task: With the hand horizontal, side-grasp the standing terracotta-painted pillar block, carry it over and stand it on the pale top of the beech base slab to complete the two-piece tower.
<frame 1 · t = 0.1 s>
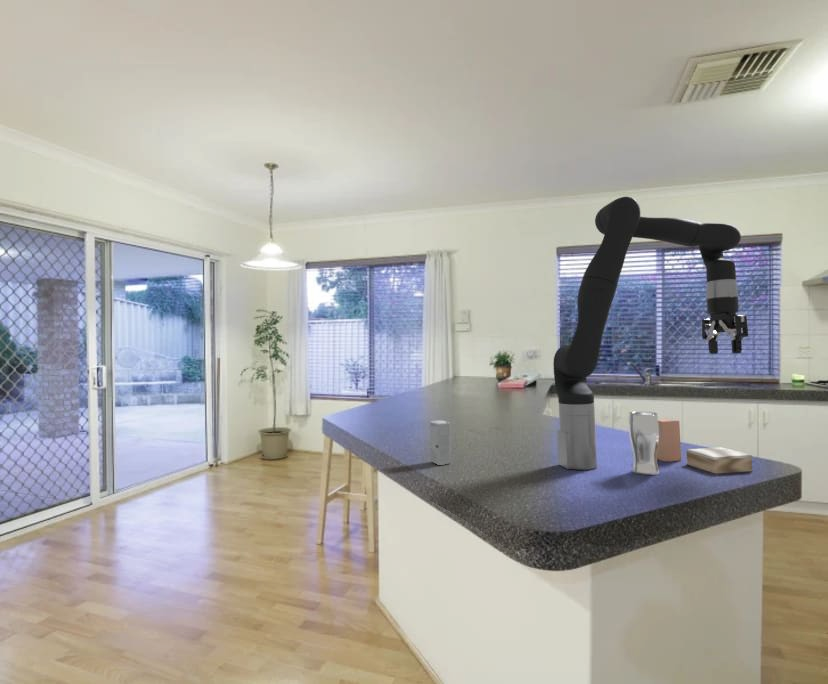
hand: (724, 353, 133), 29 cm above the counter, tool pointing down, fingers open, 8 cm apart
skincare box: (440, 464, 137), on the counter
pillar: (667, 459, 132), on the counter
beer glass: (645, 473, 119), on the counter
base slab: (718, 467, 121), on the counter
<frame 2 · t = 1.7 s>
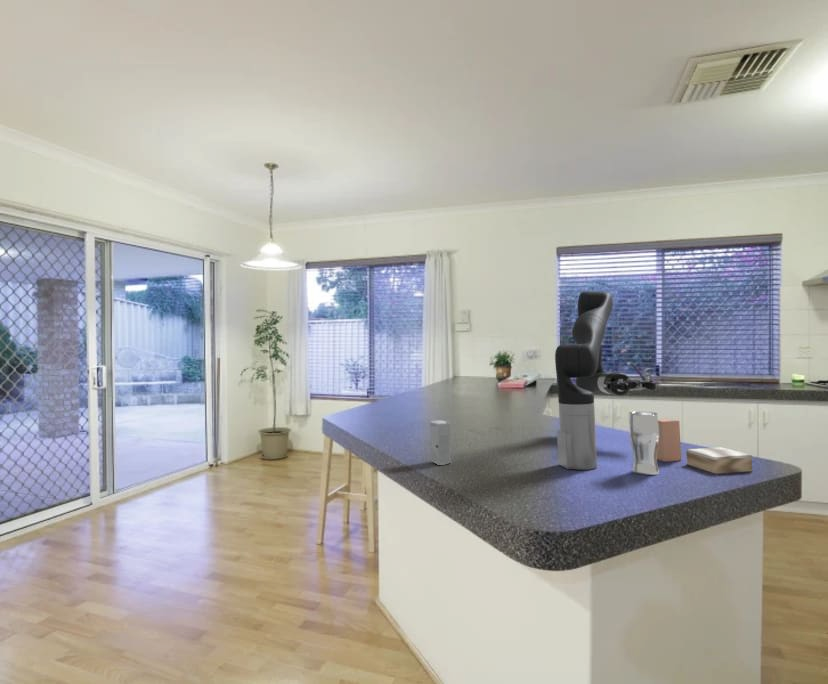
hand: (641, 386, 144), 20 cm above the counter, tool horizontal, fingers open, 8 cm apart
nothing on the counter moved.
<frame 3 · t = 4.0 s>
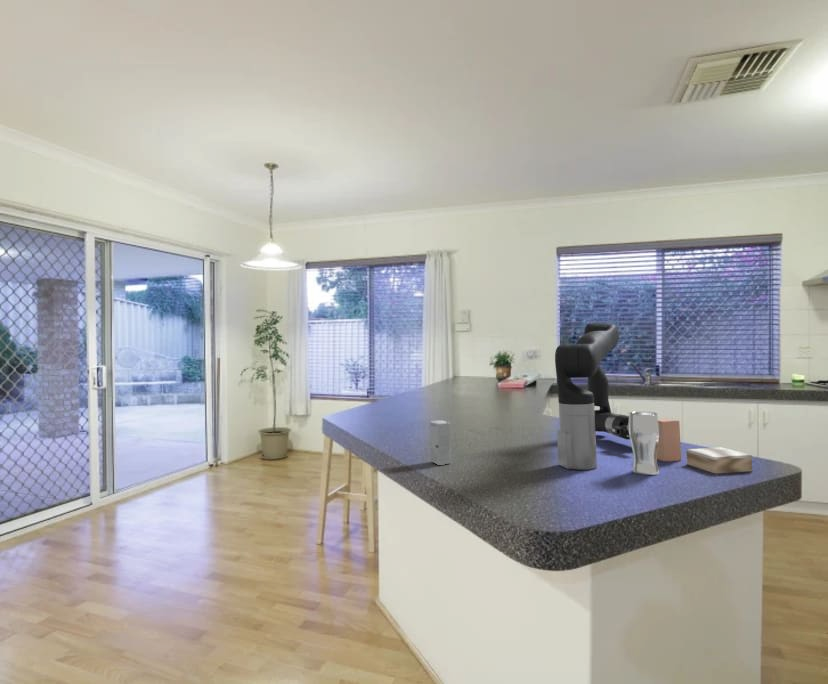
hand: (651, 433, 139), 6 cm above the counter, tool horizontal, fingers open, 8 cm apart
nothing on the counter moved.
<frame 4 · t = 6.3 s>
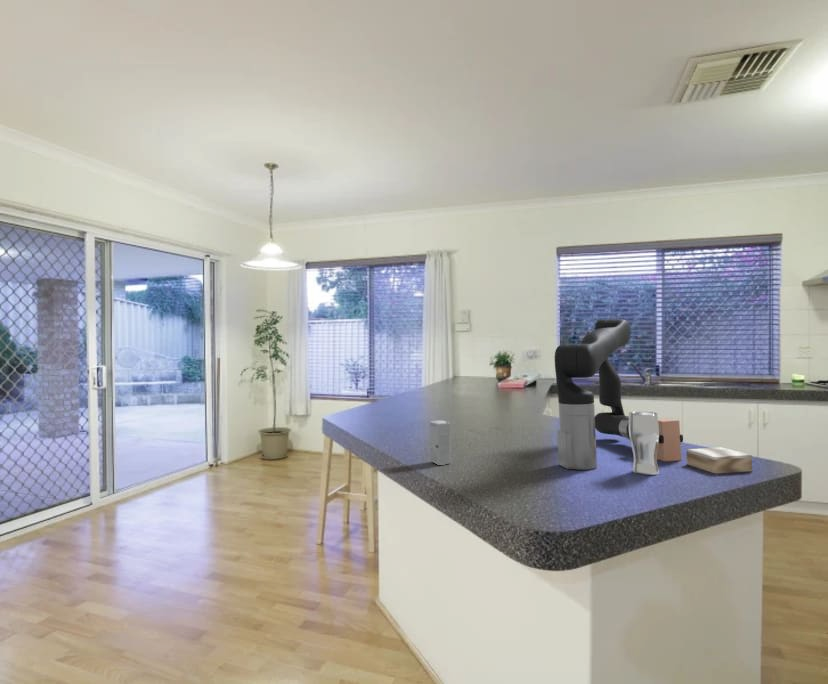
hand: (672, 439, 130), 6 cm above the counter, tool horizontal, fingers closed on pillar, 5 cm apart
pillar: (667, 458, 132), on the counter, touching gripper
everything else where it was.
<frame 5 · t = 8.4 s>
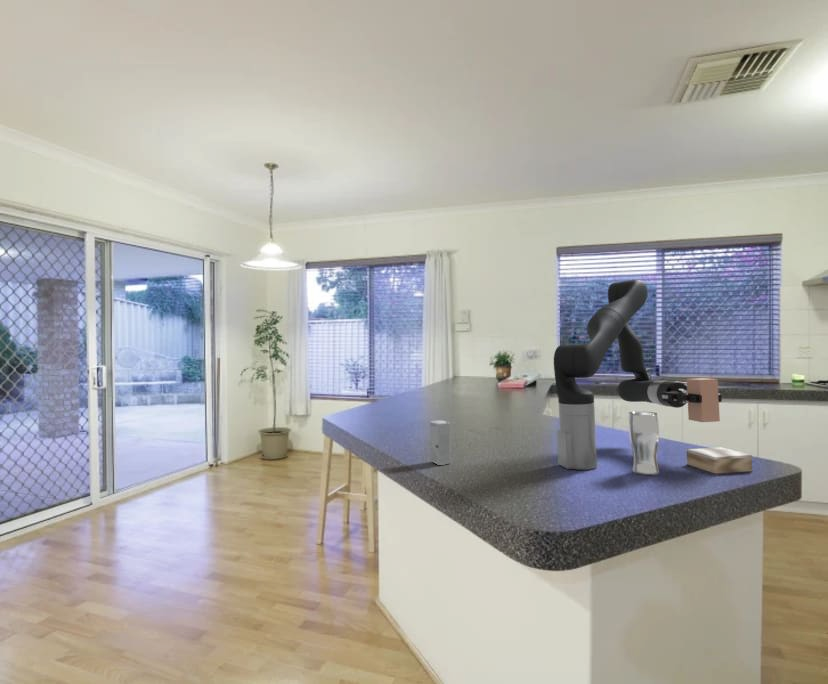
hand: (710, 398, 122), 18 cm above the counter, tool horizontal, fingers closed on pillar, 5 cm apart
pillar: (703, 420, 124), point 12 cm above the counter, touching gripper
everything else where it was.
when the fingers open (11 cm above the counter, at t = 10.7 s): pillar stays where it is, resting on base slab.
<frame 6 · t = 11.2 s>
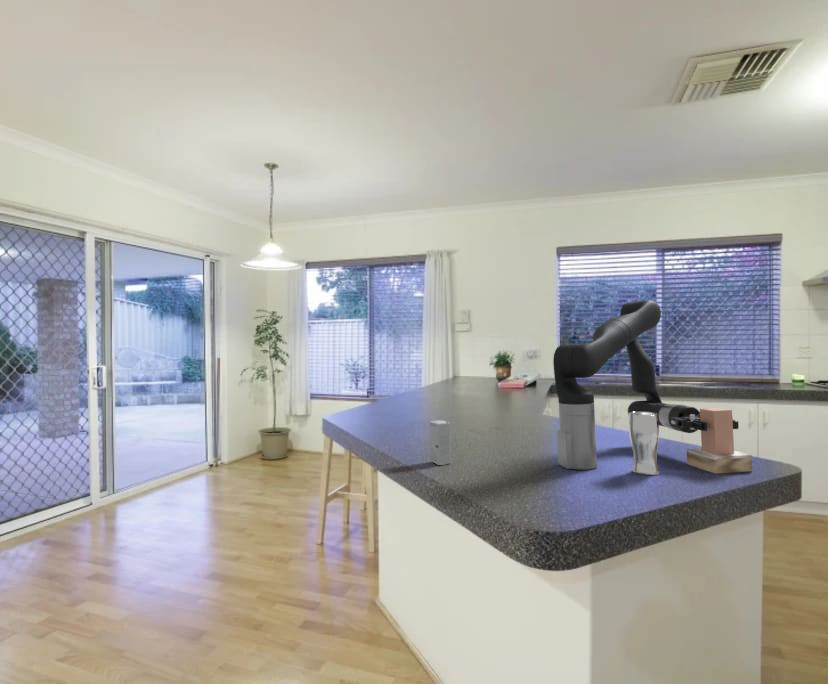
hand: (721, 425, 119), 11 cm above the counter, tool horizontal, fingers open, 8 cm apart
pillar: (717, 452, 121), point 4 cm above the counter, touching base slab
everything else where it was.
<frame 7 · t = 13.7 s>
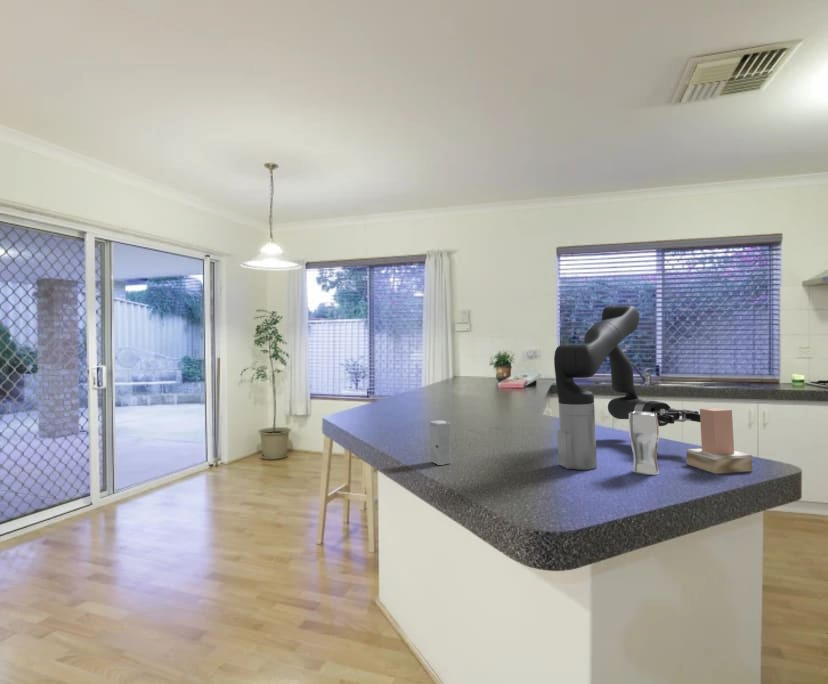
hand: (687, 419, 132), 11 cm above the counter, tool horizontal, fingers open, 8 cm apart
nothing on the counter moved.
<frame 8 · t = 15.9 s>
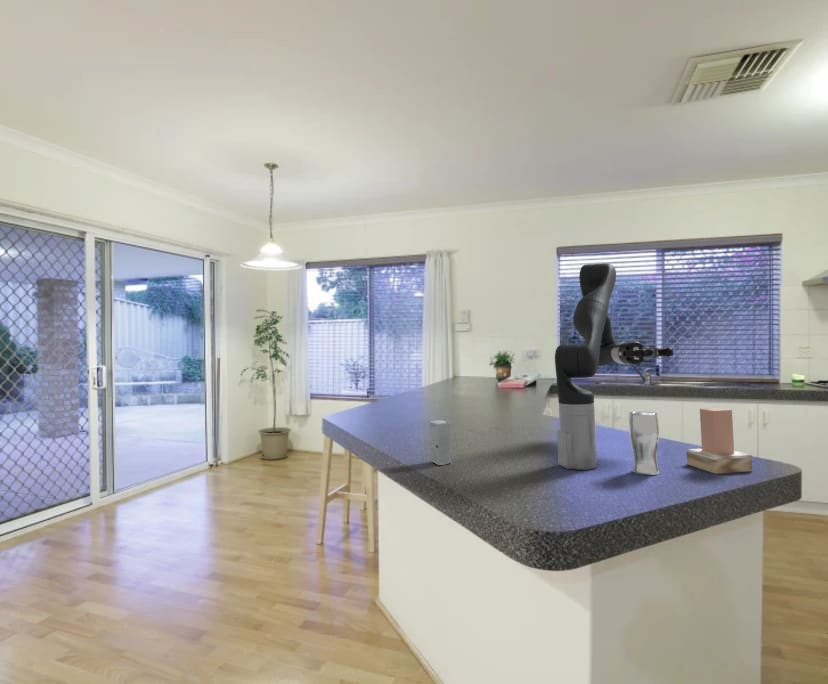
hand: (658, 352, 140), 30 cm above the counter, tool horizontal, fingers open, 8 cm apart
nothing on the counter moved.
at the end: pillar inside the target area on the base slab (0.0 cm from its centre), point 4.0 cm above the base slab's base; pillar tilted 0°; the gripper is holding nothing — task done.
